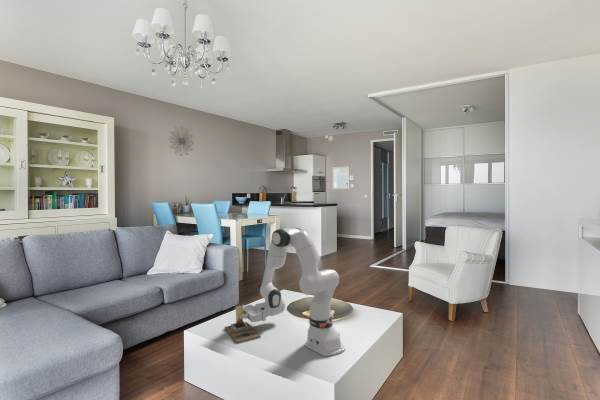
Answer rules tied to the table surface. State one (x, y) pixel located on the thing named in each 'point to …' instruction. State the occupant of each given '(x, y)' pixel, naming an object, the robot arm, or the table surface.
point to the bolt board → (242, 332)
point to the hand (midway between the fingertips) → (238, 315)
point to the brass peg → (238, 312)
